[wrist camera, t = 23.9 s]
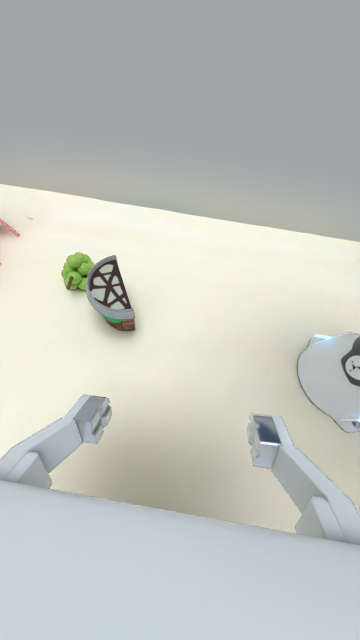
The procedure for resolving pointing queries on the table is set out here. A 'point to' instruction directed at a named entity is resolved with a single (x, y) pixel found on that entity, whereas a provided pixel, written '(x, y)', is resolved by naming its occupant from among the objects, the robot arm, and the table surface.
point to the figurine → (10, 228)
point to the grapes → (77, 271)
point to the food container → (110, 294)
